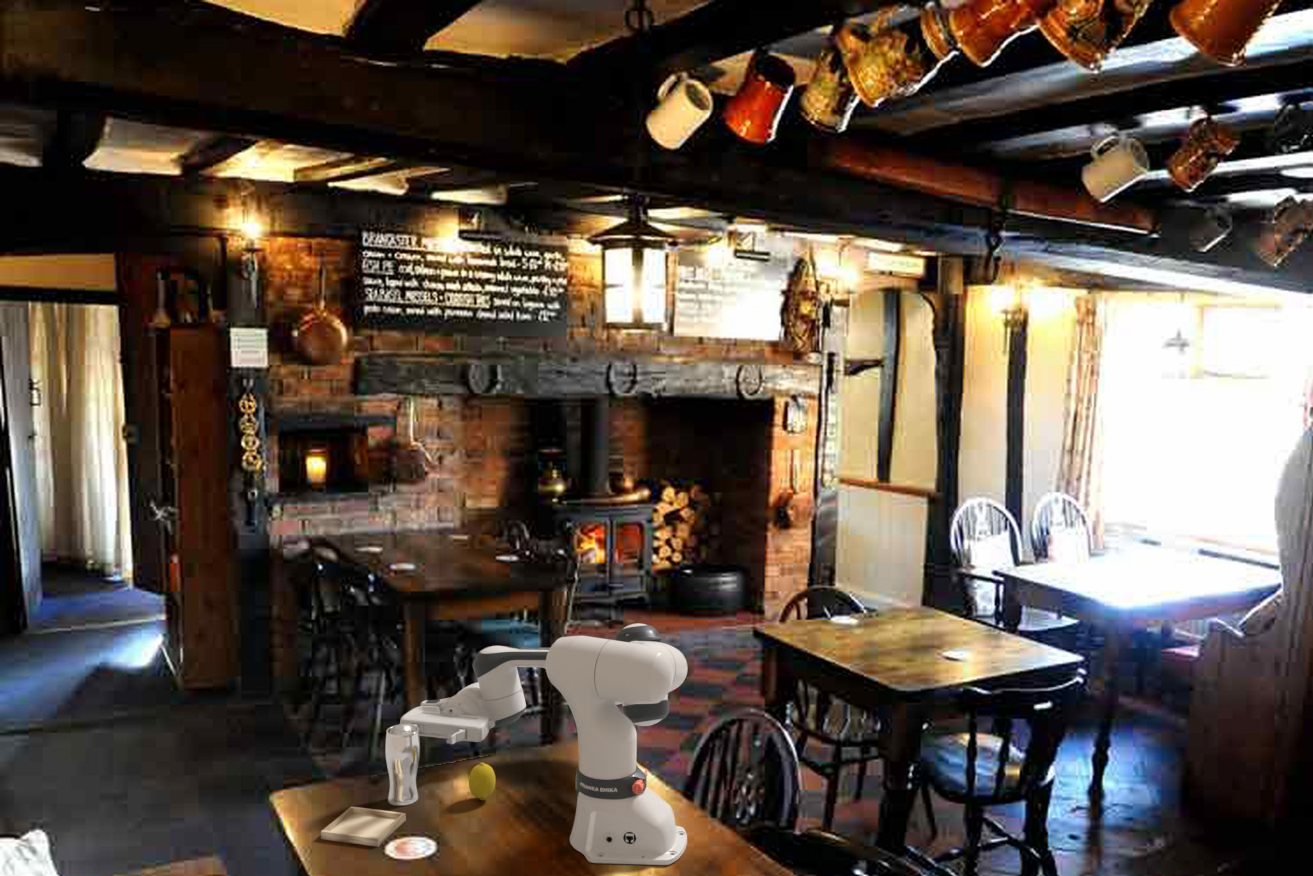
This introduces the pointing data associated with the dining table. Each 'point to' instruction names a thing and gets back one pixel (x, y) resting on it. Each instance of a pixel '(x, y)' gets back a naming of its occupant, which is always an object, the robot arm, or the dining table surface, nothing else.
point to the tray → (363, 826)
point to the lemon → (482, 781)
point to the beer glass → (402, 763)
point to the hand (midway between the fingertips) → (429, 738)
